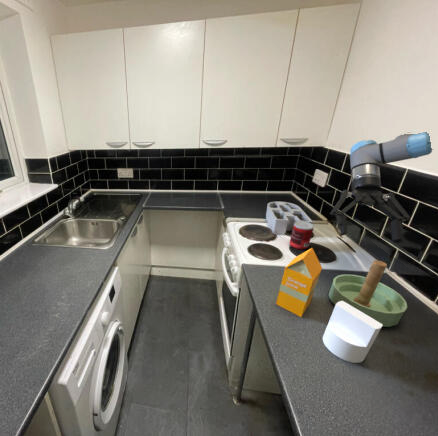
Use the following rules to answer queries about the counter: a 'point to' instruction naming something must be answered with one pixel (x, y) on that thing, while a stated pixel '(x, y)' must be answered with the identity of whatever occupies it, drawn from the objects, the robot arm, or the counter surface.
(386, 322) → the bowl
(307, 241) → the canned food
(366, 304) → the muddler
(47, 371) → the counter surface
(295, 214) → the grey compartment organizer
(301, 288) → the orange juice
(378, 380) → the counter surface
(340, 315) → the base with upright slab
